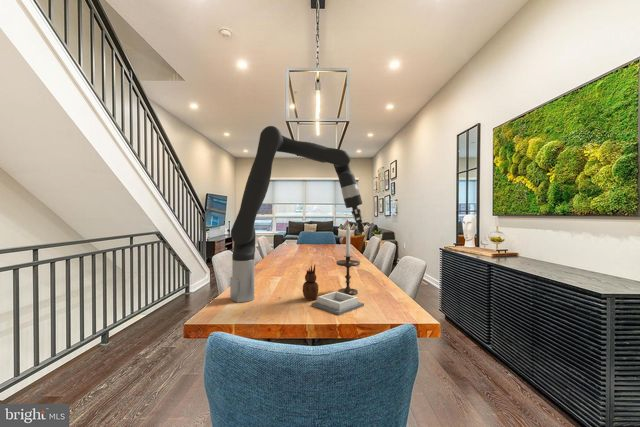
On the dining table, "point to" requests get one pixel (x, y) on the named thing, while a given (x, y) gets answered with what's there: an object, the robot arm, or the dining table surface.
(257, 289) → the dining table surface
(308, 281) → the wooden figurine
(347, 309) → the plate
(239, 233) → the robot arm
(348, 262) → the candlestick
